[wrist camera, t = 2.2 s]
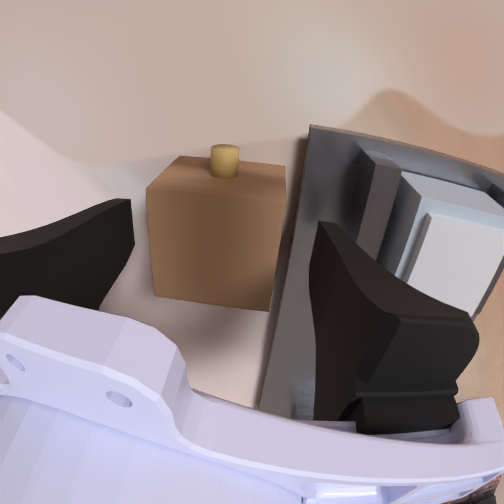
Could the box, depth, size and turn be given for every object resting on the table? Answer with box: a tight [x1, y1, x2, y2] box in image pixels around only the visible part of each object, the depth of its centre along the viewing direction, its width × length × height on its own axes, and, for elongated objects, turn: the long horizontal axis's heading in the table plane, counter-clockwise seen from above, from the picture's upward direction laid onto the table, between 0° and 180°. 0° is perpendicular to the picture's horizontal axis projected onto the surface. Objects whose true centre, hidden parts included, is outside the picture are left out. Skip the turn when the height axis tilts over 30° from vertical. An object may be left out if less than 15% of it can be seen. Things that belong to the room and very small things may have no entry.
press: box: [258, 124, 504, 421], centre depth 16 cm, size 12×20×4 cm, turn 175°
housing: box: [146, 144, 286, 312], centre depth 13 cm, size 4×6×4 cm
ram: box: [376, 171, 504, 317], centre depth 12 cm, size 5×5×3 cm
